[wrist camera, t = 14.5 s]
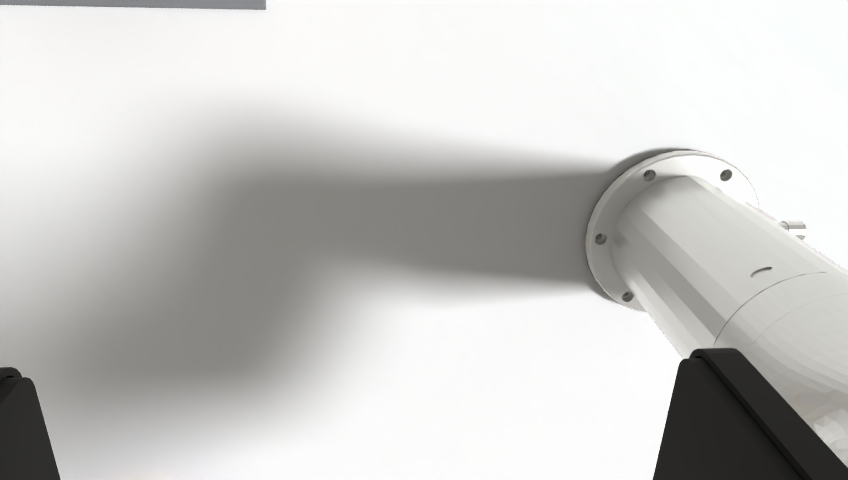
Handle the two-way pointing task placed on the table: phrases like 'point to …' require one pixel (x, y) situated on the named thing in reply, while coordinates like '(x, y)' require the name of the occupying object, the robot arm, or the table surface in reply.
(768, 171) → the table surface
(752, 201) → the robot arm
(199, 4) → the felt pad
